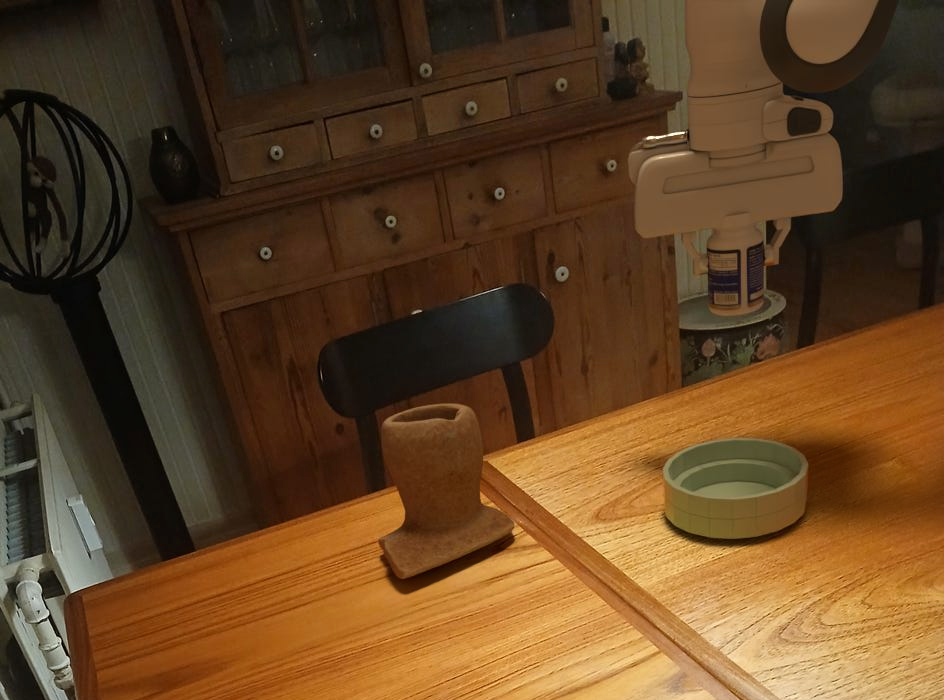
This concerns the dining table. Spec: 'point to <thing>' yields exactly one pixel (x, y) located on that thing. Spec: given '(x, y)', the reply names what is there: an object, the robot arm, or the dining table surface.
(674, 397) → the dining table surface
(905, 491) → the dining table surface
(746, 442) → the bowl
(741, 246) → the pill bottle
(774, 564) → the dining table surface
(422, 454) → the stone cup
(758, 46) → the robot arm
